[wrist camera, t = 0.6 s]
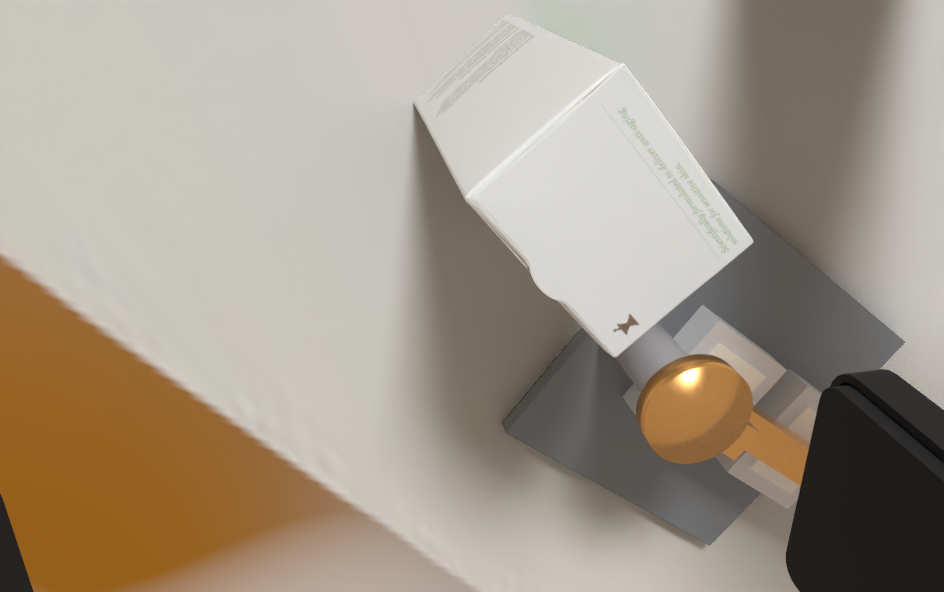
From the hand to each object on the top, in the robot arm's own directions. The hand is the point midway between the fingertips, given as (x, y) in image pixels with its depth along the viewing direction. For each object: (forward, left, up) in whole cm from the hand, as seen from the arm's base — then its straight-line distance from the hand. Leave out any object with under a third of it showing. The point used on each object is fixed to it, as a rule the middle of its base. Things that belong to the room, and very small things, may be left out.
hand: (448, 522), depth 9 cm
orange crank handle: (+2, +28, -26) cm, 39 cm away
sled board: (+2, +28, -31) cm, 41 cm away
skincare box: (-3, +8, -31) cm, 32 cm away
